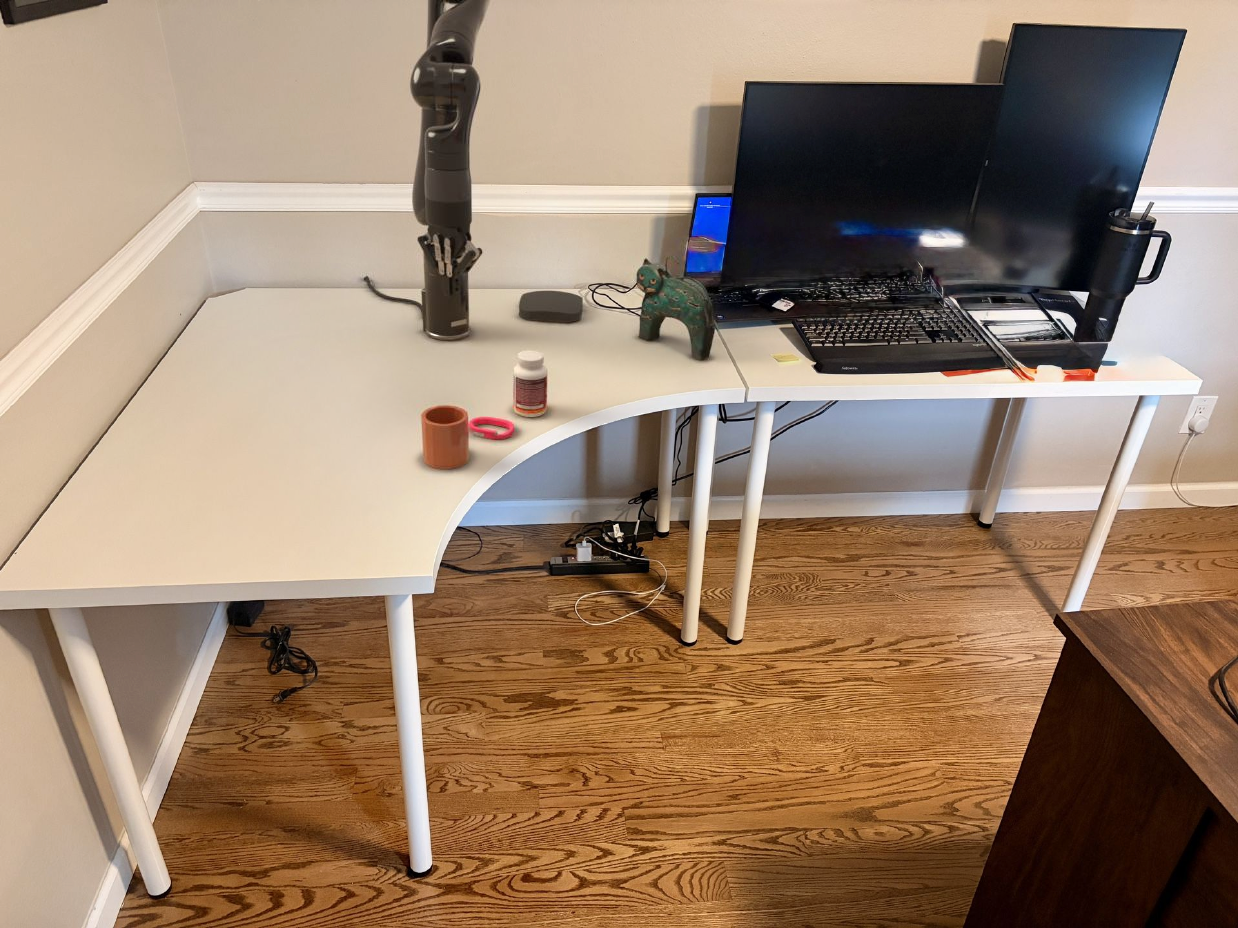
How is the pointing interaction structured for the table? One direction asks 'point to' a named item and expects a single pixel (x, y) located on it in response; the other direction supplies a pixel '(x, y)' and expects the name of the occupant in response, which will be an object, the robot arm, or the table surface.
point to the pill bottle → (530, 384)
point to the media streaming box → (551, 306)
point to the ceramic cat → (675, 306)
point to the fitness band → (491, 433)
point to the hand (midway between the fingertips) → (450, 295)
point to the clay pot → (445, 437)
